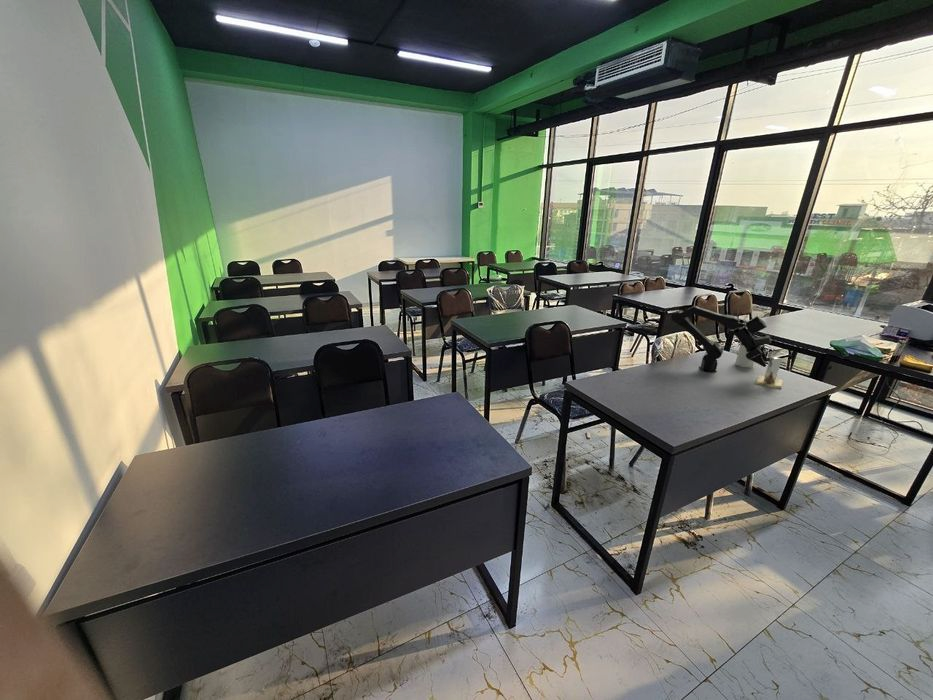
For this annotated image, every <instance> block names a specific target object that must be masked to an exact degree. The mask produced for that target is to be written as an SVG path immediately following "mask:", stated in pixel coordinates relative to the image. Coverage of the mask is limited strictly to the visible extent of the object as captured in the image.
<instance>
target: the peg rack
mask: <svg viewBox="0 0 933 700" xmlns="http://www.w3.org/2000/svg"><path fill="white" fill-rule="evenodd" d="M764 377H765V375H758V376H757V379H756V382H755V384H756V385H761V386H765V387H770V388H775V389H778V390H781V389H782V386H783V381H784V380H783V379H780V378H779V379H778V378H776V380H775V382H774V383H771V382H772V379H773V376H772V375H769V378H768V381H764Z"/></svg>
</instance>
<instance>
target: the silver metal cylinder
mask: <svg viewBox="0 0 933 700" xmlns="http://www.w3.org/2000/svg"><path fill="white" fill-rule="evenodd" d="M781 363H782V358H780V357H776V356H770V357H769V360H768V363H767V365H766V371H765V374H764V376H765V377H764V381H768V378H769V375H772V376H773V379H772V382H771V383H774V382H775V380H776V379H777V377H778V373H779V370H780V367H781Z"/></svg>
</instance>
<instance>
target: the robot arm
mask: <svg viewBox="0 0 933 700" xmlns="http://www.w3.org/2000/svg"><path fill="white" fill-rule="evenodd" d="M693 315H695V316H697V317H702V318H705V319H707V320H710V321H713V322H717V323H718V324H720V325H722V326H724V327H725V328H727V329H729V335H728V336H730V337H731V336H733V335H734V336H735V337H736V339H737V340H738V341H739V342H740V343H741V345H743V346H744V347H745V348H746V351H747V353H746V358H747V359H749V360H752V361H754V363H756V364H758V365H759V366H761V367H763V368H767V364H766V362H769V360H768V358H767V355H766V353H765V351H764V349H765V348H766V347H765V346H766V345H770V344H771V343H772V339H771V336H770V335H769V334H767V333H766V332H765V333H762V334H761V335H760V336H758V337H756V336H755V335H752V334H757V333H758V332H761V331H762V330H765V329H766V328H767V327H768V326H767V324H766V322H765V321H764V320H763V319H762V318H760V317H759V316H758V315H757V316H754V317H753V318H751V319H750V320H745V319H740V317H739V316H736V315H732V314H721V313H720V312H719V313H718V312H715V311H712V310H710V309H705V308H702V307H700V306H697V305H693V306H692V307H689V308H685V309H683V310H681V309H680V310H679V309H678V310H676V311H675V312H673V313H672V314H671V316H670V317H671V318H670V320H671V321H672V323H674V324H676V325H678V326H680V327H681V328H683V329H684V330H685V331H687V332H688V334H690V336H692V337H693V338H694V339H695V340H696V341H697V342H698V343H699V344H700V345H701V346H702V347H703V349H704V350H705V353H704V355H703V356H702V359H701V364H700V365H699V366H698V368H699V369H700V370H701V371H703V372H706V373H707V372H709V373H716V372H717V367H718V364H719V363H718V360H717V359H720V358H721V356H722V355H723V353H724V348H723V345H720V343H718V341H717V340H716V341H714V342H713V341H712V340H710V339H709V338H708V337H707V336H706V335H705V334H704V333H703V332H702V331H701V330H700V329H699V328H697V327H696V326H695V325H694V324H693V323H692V322H691V320H690V319H689V317H691V316H693Z"/></svg>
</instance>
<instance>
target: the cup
mask: <svg viewBox="0 0 933 700" xmlns="http://www.w3.org/2000/svg"><path fill="white" fill-rule="evenodd" d="M746 353H747V351H746V348H745V347H744V346H743V345H741V342H740V343H739V348H738V352H737V356H736V358H735V359H736V360H735V364H736V366H739V367H742V368H753V367H754V363H755V362H754V361H752V360H749V359H747V358H746Z"/></svg>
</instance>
